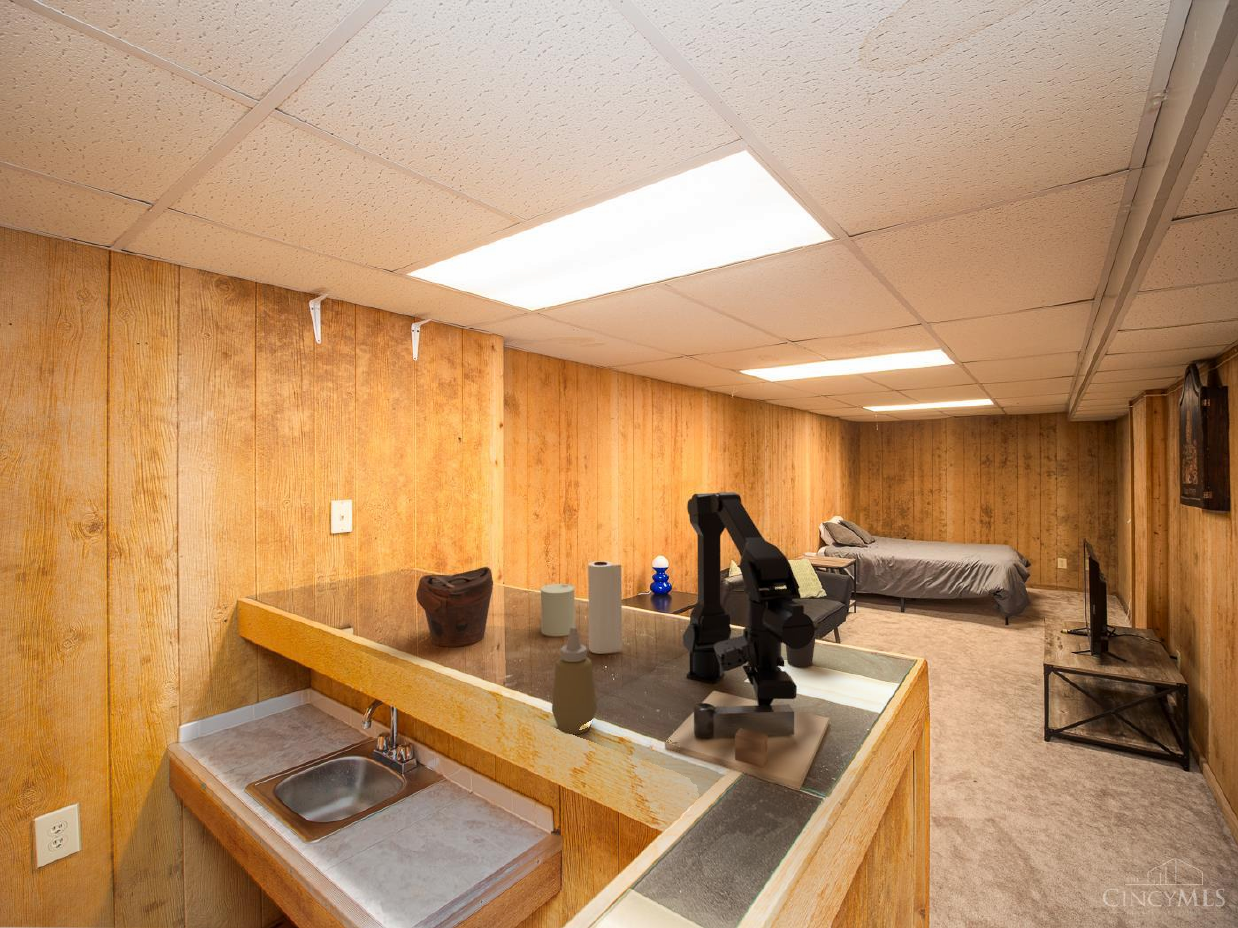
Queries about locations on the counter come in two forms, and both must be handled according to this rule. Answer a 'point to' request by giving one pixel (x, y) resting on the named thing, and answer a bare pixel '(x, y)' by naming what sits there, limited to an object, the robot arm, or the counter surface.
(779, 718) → the swing bar
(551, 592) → the can
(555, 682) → the squeeze bottle
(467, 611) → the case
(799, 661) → the coffee cup
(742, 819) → the counter surface
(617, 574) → the paper towel roll
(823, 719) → the tan flat square sheet
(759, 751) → the block
